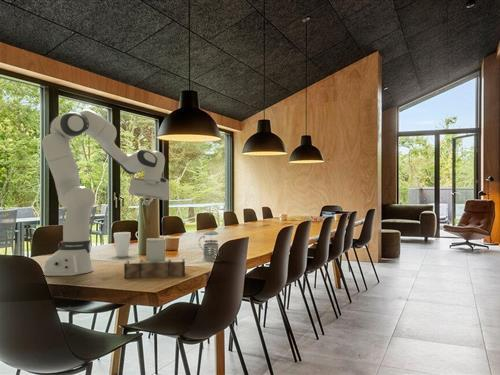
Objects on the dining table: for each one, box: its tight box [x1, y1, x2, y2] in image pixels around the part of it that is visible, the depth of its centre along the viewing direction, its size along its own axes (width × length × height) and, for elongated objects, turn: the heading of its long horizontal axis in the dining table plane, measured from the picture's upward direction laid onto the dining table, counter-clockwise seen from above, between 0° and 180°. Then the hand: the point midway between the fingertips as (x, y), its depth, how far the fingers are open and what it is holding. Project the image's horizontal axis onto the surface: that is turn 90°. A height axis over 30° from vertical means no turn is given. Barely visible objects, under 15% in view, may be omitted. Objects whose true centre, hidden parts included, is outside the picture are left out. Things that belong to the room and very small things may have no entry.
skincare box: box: [145, 237, 166, 262], centre depth 186 cm, size 8×7×16 cm
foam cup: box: [113, 231, 132, 258], centre depth 242 cm, size 10×9×13 cm
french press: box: [198, 212, 220, 262], centre depth 227 cm, size 10×12×25 cm
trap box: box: [123, 258, 186, 279], centre depth 184 cm, size 25×9×7 cm, turn 99°
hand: (146, 204), depth 212 cm, fingers closed
